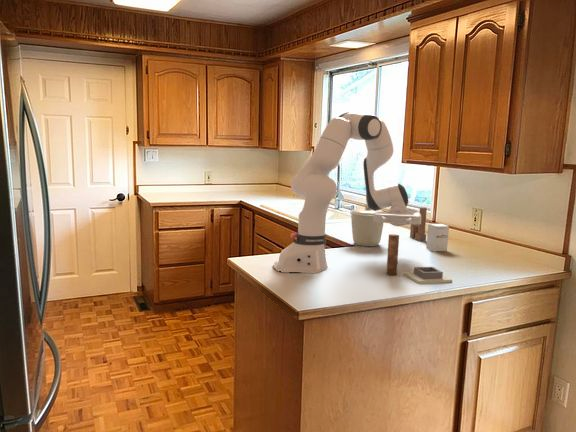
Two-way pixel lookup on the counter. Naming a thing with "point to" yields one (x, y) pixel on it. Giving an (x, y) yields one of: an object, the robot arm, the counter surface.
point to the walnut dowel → (392, 254)
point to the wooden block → (419, 227)
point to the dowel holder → (427, 275)
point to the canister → (365, 227)
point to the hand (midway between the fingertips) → (396, 221)
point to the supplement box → (437, 237)
